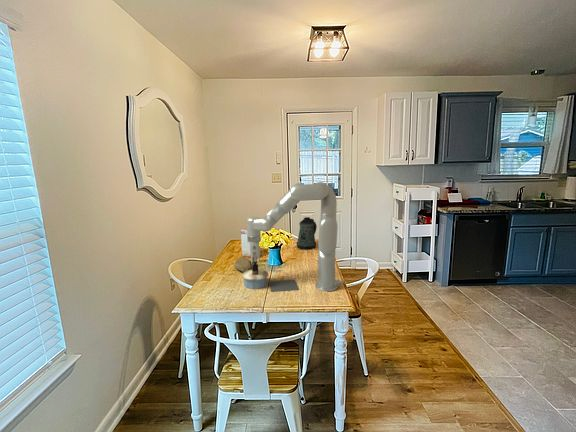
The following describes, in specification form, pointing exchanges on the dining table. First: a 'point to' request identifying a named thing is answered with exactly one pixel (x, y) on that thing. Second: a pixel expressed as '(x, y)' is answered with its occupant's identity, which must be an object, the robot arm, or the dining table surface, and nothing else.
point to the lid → (255, 275)
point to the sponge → (243, 264)
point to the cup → (255, 283)
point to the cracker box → (245, 244)
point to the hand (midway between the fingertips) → (255, 269)
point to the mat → (283, 285)
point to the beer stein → (307, 234)
